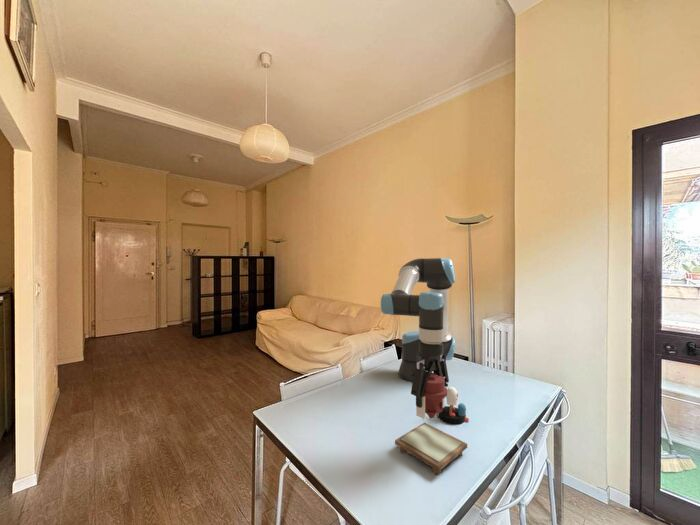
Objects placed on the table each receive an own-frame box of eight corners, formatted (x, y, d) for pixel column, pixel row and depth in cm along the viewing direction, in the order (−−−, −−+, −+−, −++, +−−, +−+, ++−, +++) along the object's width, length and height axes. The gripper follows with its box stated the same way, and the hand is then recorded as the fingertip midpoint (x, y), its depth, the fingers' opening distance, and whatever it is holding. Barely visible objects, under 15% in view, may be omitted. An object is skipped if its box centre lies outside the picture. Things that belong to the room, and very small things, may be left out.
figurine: (469, 427, 105) (469, 395, 105) (437, 422, 109) (437, 390, 109) (468, 415, 114) (468, 384, 114) (439, 410, 118) (439, 380, 118)
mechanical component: (445, 407, 96) (449, 423, 86) (414, 404, 98) (415, 419, 88) (445, 370, 96) (449, 382, 86) (414, 367, 98) (415, 379, 88)
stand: (424, 431, 103) (424, 421, 103) (467, 453, 91) (467, 442, 91) (394, 450, 93) (395, 439, 93) (438, 478, 80) (438, 465, 80)
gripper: (440, 333, 102) (440, 396, 102) (398, 344, 87) (398, 418, 87) (460, 337, 96) (460, 404, 96) (419, 350, 82) (419, 429, 81)
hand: (430, 411), depth 92 cm, fingers closed on mechanical component, 10 cm apart
